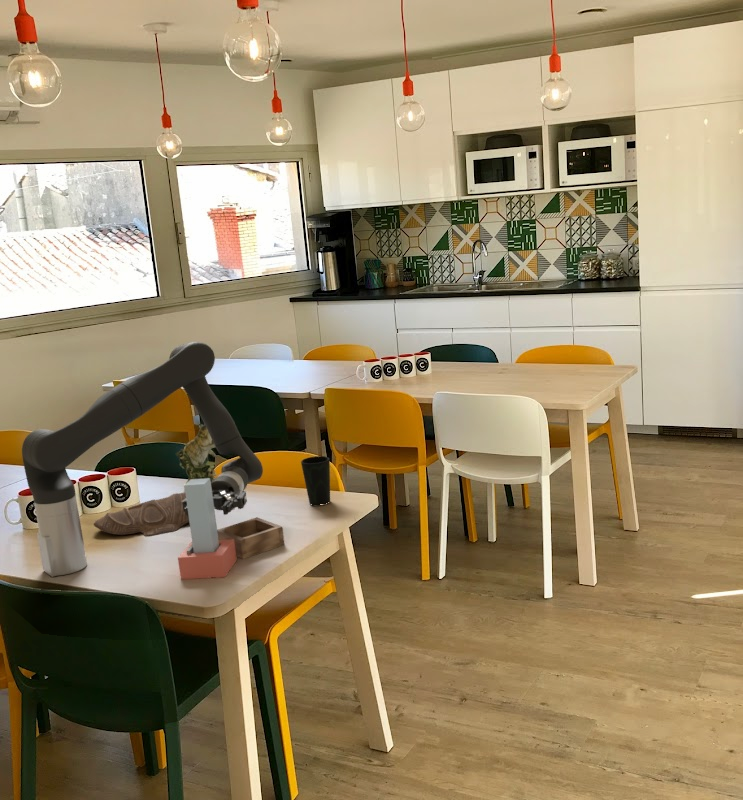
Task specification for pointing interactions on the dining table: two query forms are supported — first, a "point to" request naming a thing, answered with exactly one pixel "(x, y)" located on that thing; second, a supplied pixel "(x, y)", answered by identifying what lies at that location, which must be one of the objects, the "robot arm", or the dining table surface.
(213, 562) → the pink square holder
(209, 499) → the pale blue tall pillar
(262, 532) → the tray
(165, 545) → the dining table surface
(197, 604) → the dining table surface
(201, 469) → the figurine
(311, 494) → the cup
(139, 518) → the decorative mask
